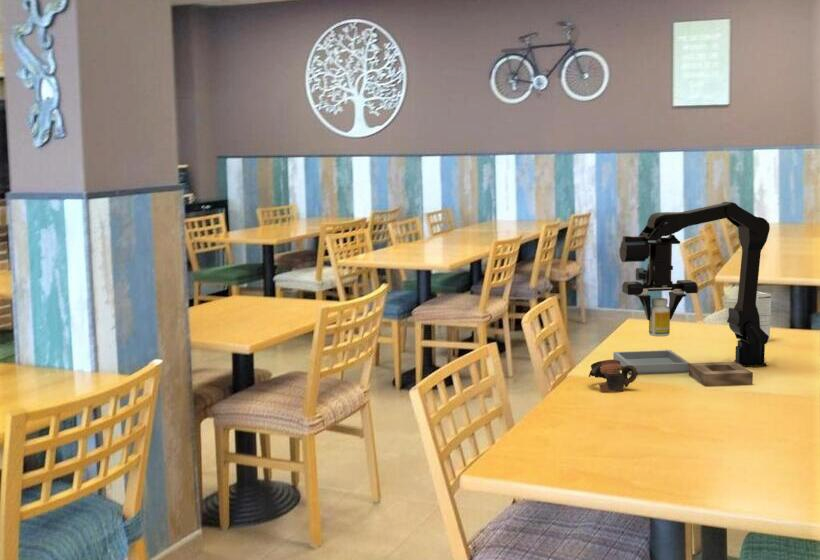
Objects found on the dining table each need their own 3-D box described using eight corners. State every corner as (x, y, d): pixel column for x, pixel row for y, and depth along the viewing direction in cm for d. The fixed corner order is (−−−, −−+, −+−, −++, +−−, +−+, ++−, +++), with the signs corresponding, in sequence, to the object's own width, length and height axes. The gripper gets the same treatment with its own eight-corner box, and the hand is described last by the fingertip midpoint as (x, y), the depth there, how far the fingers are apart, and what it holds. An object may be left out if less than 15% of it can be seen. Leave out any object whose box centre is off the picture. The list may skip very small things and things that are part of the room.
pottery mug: (588, 394, 238) (583, 362, 241) (598, 402, 246) (592, 371, 249) (637, 385, 233) (631, 352, 237) (645, 393, 242) (639, 361, 245)
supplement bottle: (644, 335, 259) (644, 299, 257) (656, 331, 262) (656, 296, 261) (661, 337, 255) (662, 301, 253) (673, 334, 258) (674, 298, 257)
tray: (670, 358, 270) (670, 350, 270) (689, 372, 255) (689, 363, 254) (613, 360, 270) (613, 352, 269) (629, 374, 254) (629, 365, 253)
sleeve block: (734, 372, 253) (734, 361, 253) (752, 384, 241) (752, 372, 241) (688, 374, 253) (688, 363, 252) (704, 386, 241) (705, 374, 240)
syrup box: (741, 339, 293) (742, 292, 290) (758, 338, 294) (759, 290, 292) (753, 343, 287) (755, 294, 285) (770, 341, 289) (772, 293, 287)
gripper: (684, 256, 264) (683, 313, 267) (616, 258, 263) (615, 315, 265) (699, 261, 253) (697, 320, 256) (628, 263, 252) (627, 322, 254)
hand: (659, 319), depth 258 cm, fingers closed on supplement bottle, 5 cm apart
